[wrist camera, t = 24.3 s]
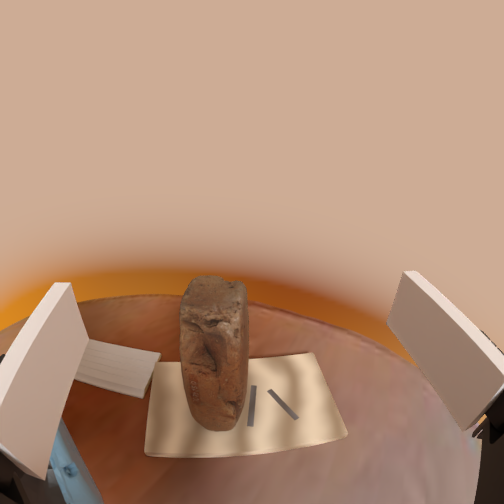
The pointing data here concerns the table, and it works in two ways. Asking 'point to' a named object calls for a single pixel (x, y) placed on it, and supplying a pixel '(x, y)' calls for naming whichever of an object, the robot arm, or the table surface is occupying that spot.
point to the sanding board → (247, 412)
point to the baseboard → (117, 368)
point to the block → (214, 350)
